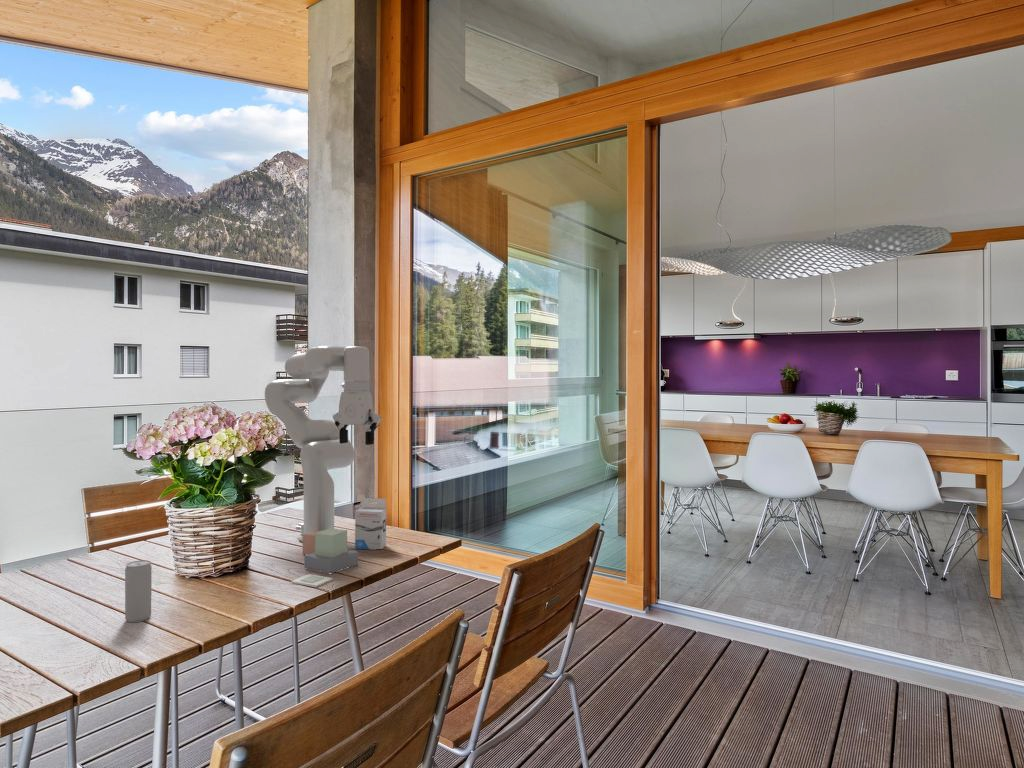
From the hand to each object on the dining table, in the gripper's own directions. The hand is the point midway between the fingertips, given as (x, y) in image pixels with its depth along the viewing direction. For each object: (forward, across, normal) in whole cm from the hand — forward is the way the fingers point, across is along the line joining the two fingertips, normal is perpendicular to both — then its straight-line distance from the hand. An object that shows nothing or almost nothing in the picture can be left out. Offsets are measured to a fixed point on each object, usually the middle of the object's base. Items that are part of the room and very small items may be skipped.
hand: (356, 443), depth 182 cm
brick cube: (+32, -9, -7) cm, 34 cm away
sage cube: (+29, +4, -16) cm, 33 cm away
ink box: (+32, +2, +4) cm, 33 cm away
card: (+32, +8, -28) cm, 43 cm away
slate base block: (+33, +4, -16) cm, 37 cm away
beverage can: (+32, -8, -62) cm, 70 cm away
